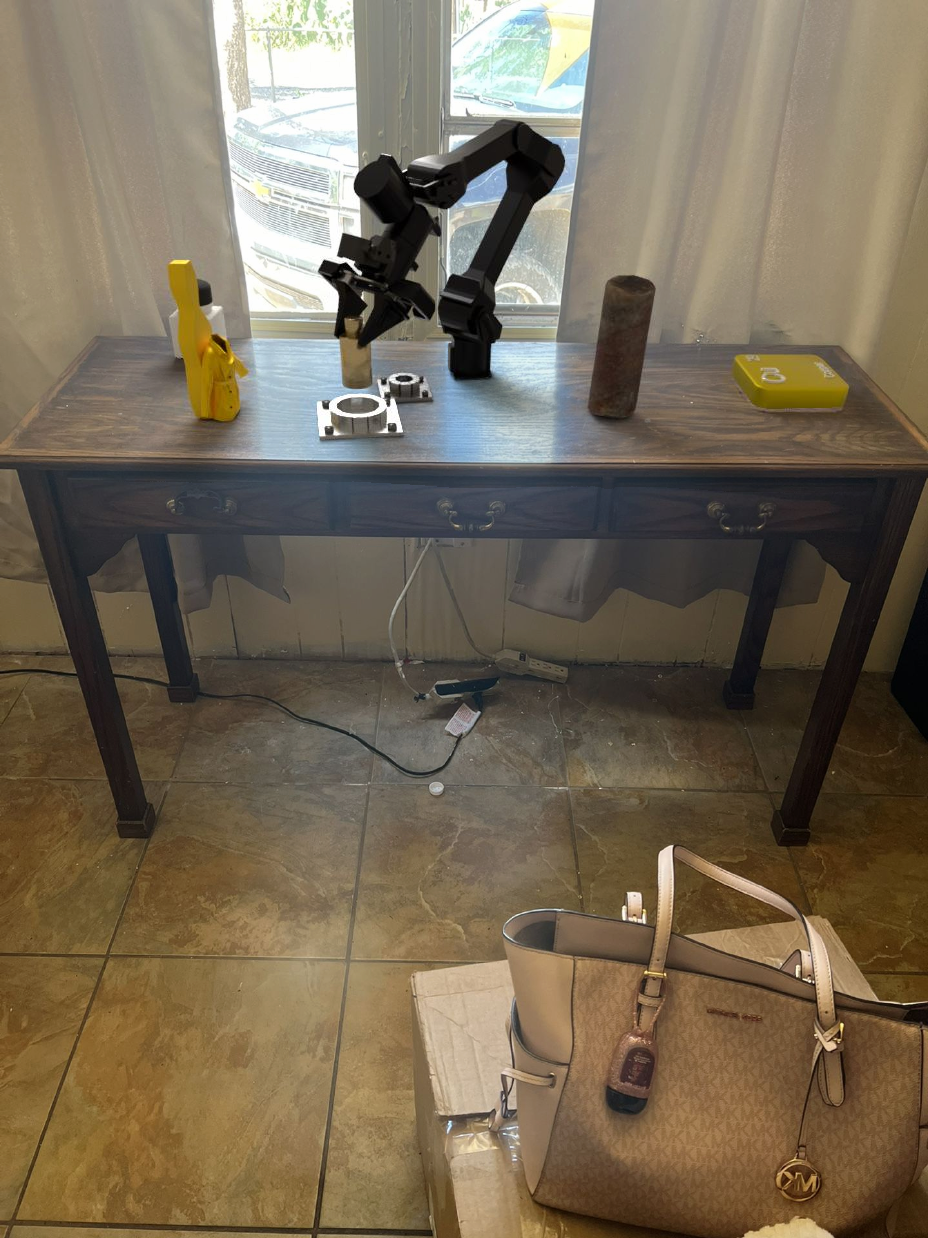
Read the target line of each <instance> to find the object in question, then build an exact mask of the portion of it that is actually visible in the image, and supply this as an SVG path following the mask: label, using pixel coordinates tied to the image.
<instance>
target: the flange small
mask: <svg viewBox="0 0 928 1238" xmlns="http://www.w3.org/2000/svg"><path fill="white" fill-rule="evenodd" d="M376 384H377V387H378V388H377V389H378V392H379V398H381V399H382V398H385V397H388V398H390V399H395V403H413V402H416V403H417V402H433V395H432V392H431V389H430V386H429V383H428V381H427V378H426V377H424V375H417V374H413V373H410V372H409V373H408V372H400V373H399V372H398V373H394V374H392V375H390V376H389V377H388V378H387V377H384V376H383V377H380V379H377V380H376Z"/></svg>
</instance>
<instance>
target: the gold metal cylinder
mask: <svg viewBox="0 0 928 1238" xmlns="http://www.w3.org/2000/svg"><path fill="white" fill-rule="evenodd" d="M364 326H365V324H364V317H363V316H361V315H360V316H347V317H345V332H344V333H342V334H340V336H339V339H338V340H339V350H340V364H341V365H340V367H341V380H342V381H341V382H342V386H343V387H344V388H347V389H350V390H364V389H368V388H370V387H371V386H373V364H372V345H371V344H372V342H370V343H369V344H367V345H366V346H365V347H360V346H359V345H358V344H357V342H358V340H359V337H360V334H361V332H362V330H363V328H364Z"/></svg>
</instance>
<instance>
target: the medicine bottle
mask: <svg viewBox="0 0 928 1238" xmlns="http://www.w3.org/2000/svg"><path fill="white" fill-rule="evenodd" d="M197 283H198V294H199V305H200V308H201V310H202V312H203V313H204V315H205V317H206V318H207V320H208V321H209V323H210V326H211V329H212V334H218V335H220V336H221V337H223V338H225V339H227V340H228V337H227V331H226V321H225V315H224V308H223V306H221V305H214V301H213V294H212V287H211V284H210V283H209V282H208V281H206V280H203V279H201V278H197ZM175 307H176V310H175V311H174V312H173V313H171V314H170V315H169V316H168V322H169V329H170V335H171V339H172V346H173V351H174V356H175V357H174V358H176V357H177V358H176V359H181V358H183V356H182V354H181V351H180V347H179V343H178V320H179V311H178V306H177V304H176V303H175Z"/></svg>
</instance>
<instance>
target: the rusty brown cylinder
mask: <svg viewBox="0 0 928 1238" xmlns="http://www.w3.org/2000/svg"><path fill="white" fill-rule="evenodd" d="M655 296H656V286H655V284H654V282H652V281H651V279H648V278H645V277H642V276H639V275H635V274H629V275H627V274H622V275H621V274H620V275H619V274H618V275H616V276H612V277H610V279H608V280H606V283H605V286H604V292H603V298H602V299H603V300H602V304H601V305H602V306H601V314H600V320H599V321H600V322H599V327H598V335H597V341H596V350H595V355H594V360H593V361H594V362H593V369H592V373H591V381H590V388H589V395H588V402H587V409H588V411H589V413H590V414H592V415H594V416H600V417H605V418H609V419H611V420H613V419H614V420H621V419H623V418H627V417H629V416H631V415H632V414H633V413H634V412H635V411H636V409H637V404H638V397H639V394H640V393H639V392H640V386H641V380H642V375H643V374H642V373H643V368H644V361H645V357H646V356H645V354H646V349H647V343H648V338H649V337H648V336H649V330H650V324H651V318H652V314H653V308H654V307H653V306H654V301H655Z"/></svg>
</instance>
